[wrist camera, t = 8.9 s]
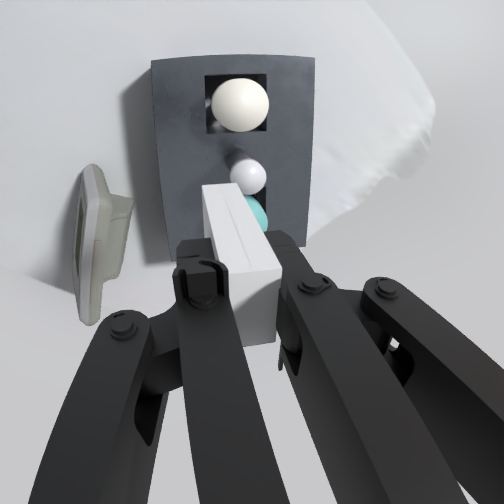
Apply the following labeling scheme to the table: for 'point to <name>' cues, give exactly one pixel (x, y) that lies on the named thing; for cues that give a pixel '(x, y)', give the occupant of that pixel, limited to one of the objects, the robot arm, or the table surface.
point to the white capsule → (245, 172)
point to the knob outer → (257, 212)
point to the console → (233, 140)
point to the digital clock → (97, 241)
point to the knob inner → (240, 104)
